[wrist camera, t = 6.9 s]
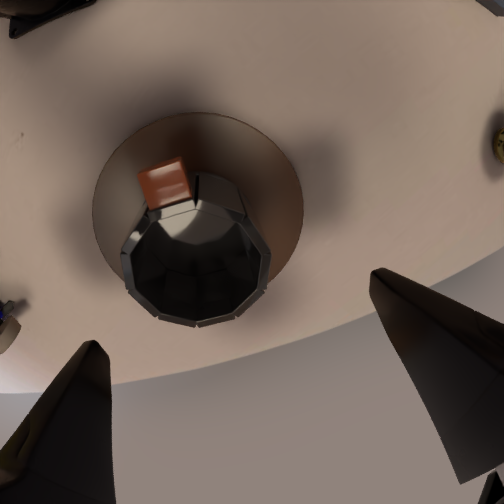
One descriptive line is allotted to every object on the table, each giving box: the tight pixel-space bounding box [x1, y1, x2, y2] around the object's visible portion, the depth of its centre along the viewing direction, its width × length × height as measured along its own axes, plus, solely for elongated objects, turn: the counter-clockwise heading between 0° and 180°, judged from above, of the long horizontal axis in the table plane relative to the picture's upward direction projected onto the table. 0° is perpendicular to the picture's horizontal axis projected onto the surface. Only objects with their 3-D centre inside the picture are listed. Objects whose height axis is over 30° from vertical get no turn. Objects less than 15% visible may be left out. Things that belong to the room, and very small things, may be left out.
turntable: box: [92, 112, 304, 284], centre depth 17 cm, size 13×13×1 cm
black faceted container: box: [120, 157, 272, 328], centre depth 14 cm, size 8×7×4 cm
